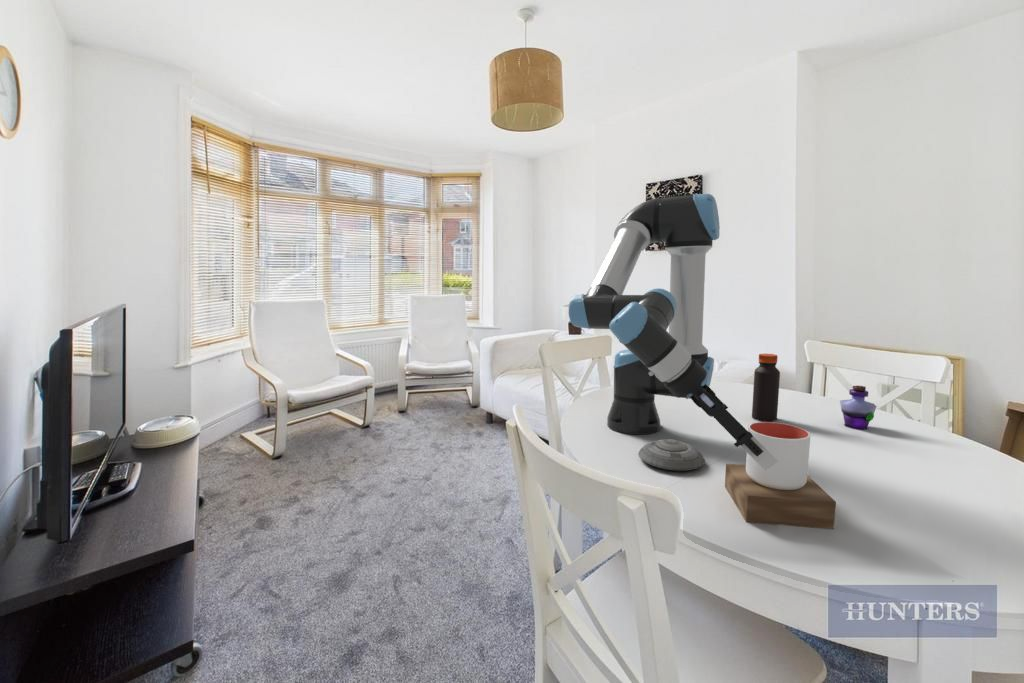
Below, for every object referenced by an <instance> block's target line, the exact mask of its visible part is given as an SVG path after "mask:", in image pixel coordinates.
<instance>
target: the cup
mask: <svg viewBox="0 0 1024 683" xmlns="http://www.w3.org/2000/svg"><path fill="white" fill-rule="evenodd" d="M747 431H748V432H750V433H751V434H752V435H753V436H754V437H755V438H756V439H757V440H758V441H759V442H760V443H761V444H762V445H763V446H764V447H765V448H766V449H767V450H768V451H769V452H770V453H771V454H772V455H773V456H774V457H775V458H776V459H777V460H778V462H777V463H775V464H774V465H773V466H771V467H770V468H769V469H767V470H766V471H765V470H764V469H763V468H762V467H761V466H760V465H759V464H758V463H757V462H756V461H755V460H754V459H753V458H752V457H751V456H750V455H749V454H748V453H747V452H746V460H745V465H746V473H747V475H748V476H749V477H750V478H751V479H752V480H753V481H755V482H756V483H758V484H760V485H763V486H766V487H769V488H773V489H778V490H796V489H799V488H801V487H803V486H804V485H805V484H806V482H807V475H808V473H809V472H808V471H809V459H810V458H809V457H810V445H811V434H810V432H809V431H807V430H806V429H804V428H802V427H798V426H795V425H791V424H787V423H783V422H782V423H781V422H776V421H773V422H765V421H758V422H752V423H751V424H749V425H748V427H747Z"/></svg>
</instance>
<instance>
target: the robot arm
mask: <svg viewBox="0 0 1024 683" xmlns="http://www.w3.org/2000/svg"><path fill="white" fill-rule="evenodd" d="M718 210H719V209H718V205H717V201H716V198H715V196H713V194H711V193H692V194H684V195H677V196H676V195H675V196H667V197H661V198H660V197H659V198H658V197H657V198H651V199H648V200H646V201H643V202H641V203H640V204H638V205H636V206H635V207H633V209H631V210H630V211H628V212H627V213H626V214H625V215H624V217H622V218H621V220H620V221H619V223H618V225H617V226H616V228H615V229H614V234H613V238H614V239H613V242H612V244H611V246H610V247H609V250H608V251H607V254H606V256H605V258H604V260H603V262H602V264H601V265H600V267H599V269H598V271H597V274H596V275H595V277H594V279H593V281H592V283H591V285H590V286H589V289H588V291H587V292H586V294H584V293H581V294H576V295H574V296H572V297H571V298H570V301H569V304H568V318H569V322H570V324H571V325H572V326H574V327H576V328H582V329H588V330H593V329H594V330H610V332H611V333H612V334H613V335H614V336H615V338H616V339H617V341H618V342H619V343H621V344H623V346H624V347H625V348H626V349H624V350H623V349H622V350H619V351H618V352H617V353H616V354H615V355H614V362H613V363H614V364H613V401H612V403H611V406H610V408H609V412H608V415H607V422H606V423H607V426H608V428H609V429H611V430H612V431H616V432H619V433H622V434H631V435H648V434H653V433H656V432H658V431H660V429H661V418H660V415H659V412H658V409H657V406H656V403H655V397H656V396H657V395H659V396H664V397H665V396H666V397H674V398H678V399H679V398H680V399H681V398H683V399H686V400H689V399H691V400H692V402H693V403H694V404H695V406H697V407H698V408H701V409H702V410H703V412H705V413H706V415H707V416H709V417H711V418H714V419H715V421H717V422H718V424H720V425H721V427H722V428H723V429H724V430H725V431H727V433H728V434H729V435H730V436H731V437H732V438H733V439H734V440H735V441H736V442H734V443H733V445H734V446H735V447H736V448H739V447H741V448H742V449H743V450H745V452H746V454H747V453H748V454H749V455H750V456H751V457H752V458H753V459H754V460H755V461H756V462H757V463H758V464H759V465H760V466H761V467H762V468H763V469H764V470H765V471H766V470H767V469H769V468H770V467H771V466H773V465H774V464H775V463H777V462H778V460H777V459H776V458H775V457H774V456H773V455H772V454H771V453H770V452H769V451H768V450H767V449H766V448H765V447H764V446H763V445H762V444H761V443H760V442H759V441H758V440H757V439H756V438H755V437H754V436H753V435H752V434H751V433H750V432H748V429H747V428H746V427H745V426H743V425H742V423H740V421H739V420H737V418H735V417H734V416H733V415H732V414H731V413H730V412H729V411H728V410H727V409H728V408H729V407H728V406H727V404H726V403H724V402H723V401H722V400H721V399H720V398H719V397H718V396H717V395H716V392H714V390H713V389H712V388H711V387H710V385H711V382H712V377H713V372H714V366H715V365H714V363H715V359H714V358H713V357H712V356H709V350H708V349H707V348H706V346H705V345H703V344H704V343H703V330H704V304H705V302H704V301H705V282H706V280H705V279H706V278H705V276H706V275H705V274H706V255H707V253H708V252H709V251H710V250H711V249H713V241H716V240H718V239H719V238H720V227H721V226H720V219H719V218H720V217H719V211H718ZM654 243H659V244H660V243H661V244H662V243H664V250H665V251H666V252H667V253H668V254H669V255H670V277H669V278H670V280H669V282H670V283H669V291H668V290H666V289H664V288H653V289H650V290H649V291H647V292H646V293H644V294H624V291H625V289H626V287H627V284H628V282H629V281H630V278H631V276H632V273H633V272H634V269H635V267H636V265H637V262H638V259H639V258H640V255H641V253H642V252H643V251H644V250H645V249H647V248H648V246H649V245H650V244H654ZM667 329H668V331H667ZM655 395H656V396H655Z"/></svg>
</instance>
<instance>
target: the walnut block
mask: <svg viewBox="0 0 1024 683" xmlns="http://www.w3.org/2000/svg"><path fill="white" fill-rule="evenodd" d="M724 478H725V480H724V488H725V489H726V491H727V492H728V495H729V496H730V498H731V500H732V501H733V503H734V504H735V505H736V508H737V509H738V511H739V513H740V515H741V516H742V518H743V519H744V520H745V523H752V524H754V523H756V524H765V525H767V524H768V525H779V526H780V525H781V526H790V527H791V526H792V527H793V526H794V527H804V528H814V529H817V528H818V529H827V530H828V529H829V530H834V529H835V521H836V520H835V517H836V509H837V502H836V500H835V499H833V497H832V496H831V495H829V493H827V492H826V491H825V490H824V489H823V488H822V487H821V486H820V485H819V484H818V483H816V481H815V480H813V478H812V477H811V476H809V475H808V474H807V482H806V484H805V485H804V486H803V487H801V488H799V489H796V490H778V489H773V488H769V487H766V486H763V485H760V484H758V483H756V482H755V481H753V480H752V479H751V478H750V477H749V476H748V475H747V473H746V464H735V463H726V464H725V477H724Z"/></svg>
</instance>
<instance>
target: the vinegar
mask: <svg viewBox="0 0 1024 683" xmlns="http://www.w3.org/2000/svg"><path fill="white" fill-rule="evenodd" d="M777 363H778V355H777V354H774V353H759V354H758V364H759V366H758V367H756V368H755V369H754V375H753V376H754V377H753V388H752V389H753V392H752V409H751V417H752V419H753V420H756V421H758V422H776V421H777V420H778V410H779V409H778V408H779V393H780V378H781V372H780V370H779V369H778V368H777V366H776V365H777Z"/></svg>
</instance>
